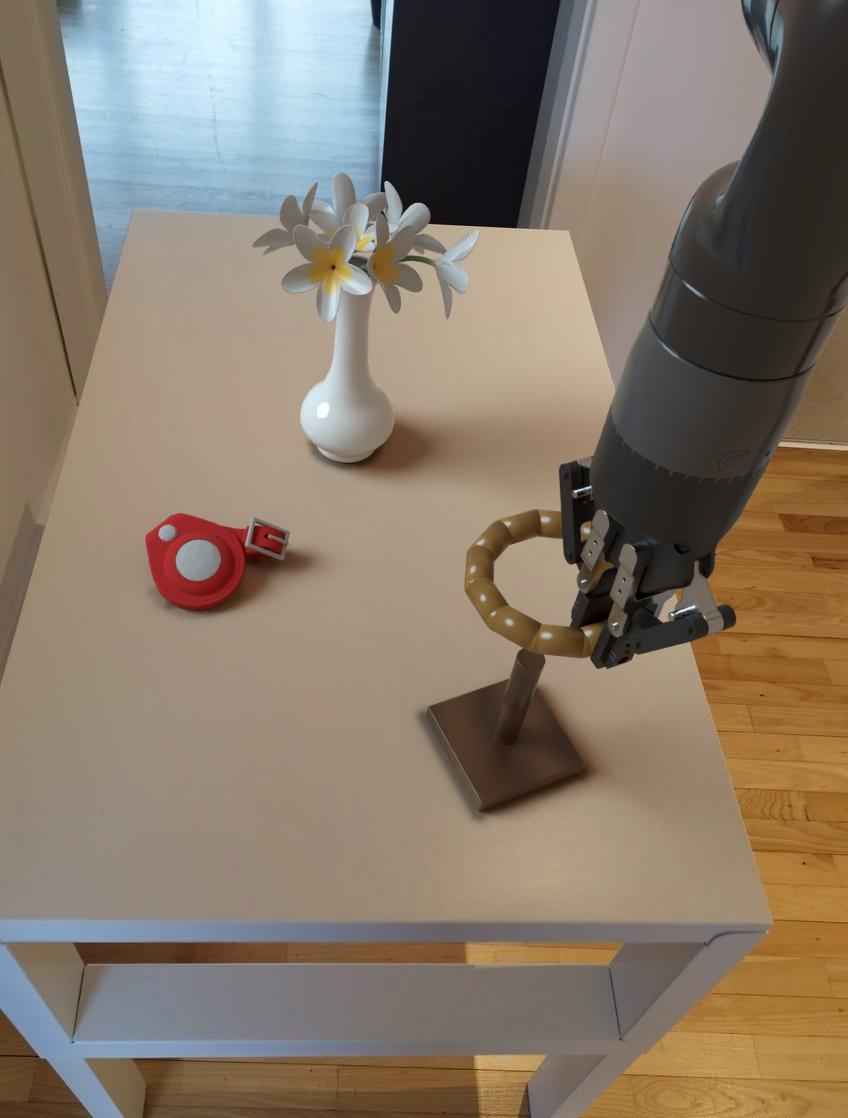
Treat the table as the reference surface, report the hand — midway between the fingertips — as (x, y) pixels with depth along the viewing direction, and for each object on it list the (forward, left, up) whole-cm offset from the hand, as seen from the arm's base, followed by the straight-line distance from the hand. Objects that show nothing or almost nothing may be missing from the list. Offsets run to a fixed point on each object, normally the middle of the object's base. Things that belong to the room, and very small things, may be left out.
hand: (596, 644), depth 55 cm
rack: (0, -4, -18) cm, 19 cm away
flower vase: (-3, -41, -19) cm, 45 cm away
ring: (0, -5, +1) cm, 5 cm away
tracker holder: (+15, -29, -19) cm, 38 cm away
